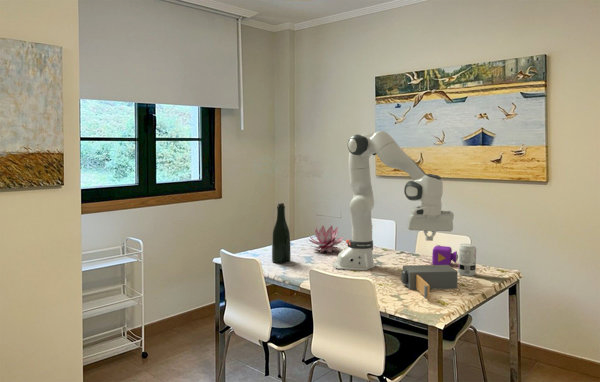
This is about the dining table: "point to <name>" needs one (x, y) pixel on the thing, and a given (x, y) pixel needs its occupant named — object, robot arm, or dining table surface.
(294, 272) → the dining table surface
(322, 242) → the decorative flower
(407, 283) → the grey cabinet
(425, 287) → the side door
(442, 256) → the toy camera
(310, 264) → the dining table surface
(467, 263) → the supplement can
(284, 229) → the beer bottle
